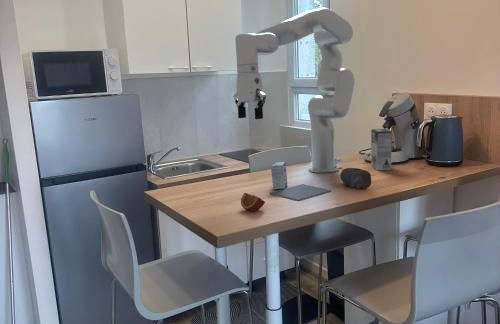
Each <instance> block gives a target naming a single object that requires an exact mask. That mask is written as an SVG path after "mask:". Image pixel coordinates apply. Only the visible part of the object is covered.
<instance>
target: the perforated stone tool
mask: <svg viewBox="0 0 500 324" xmlns="http://www.w3.org/2000/svg"><path fill="white" fill-rule="evenodd" d="M339 178H340V180H341V182H342V183H343V184H344V185H347V186H348V187H350V188H353V189H356V188H357V189H358V190H363V189H368V188H369V187H370V186H371V184H372V174H371V173H370V172H369V171H368V170H365V169H361V168H358V167H346V168H343V169H342V170H341V172H340V177H339Z"/></svg>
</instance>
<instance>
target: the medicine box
mask: <svg viewBox="0 0 500 324" xmlns="http://www.w3.org/2000/svg"><path fill="white" fill-rule="evenodd" d="M270 170H271V181H272V183H271V184H272V190H281V189H285V188H287V186H288V176H287V175H288V173H287V163H286V162H285V161H279V162H277V161H276V162H274V163H273V164H272V165H271V166H270Z"/></svg>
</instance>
